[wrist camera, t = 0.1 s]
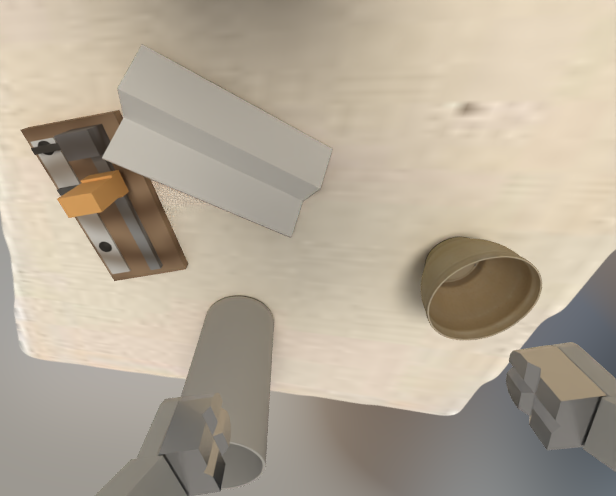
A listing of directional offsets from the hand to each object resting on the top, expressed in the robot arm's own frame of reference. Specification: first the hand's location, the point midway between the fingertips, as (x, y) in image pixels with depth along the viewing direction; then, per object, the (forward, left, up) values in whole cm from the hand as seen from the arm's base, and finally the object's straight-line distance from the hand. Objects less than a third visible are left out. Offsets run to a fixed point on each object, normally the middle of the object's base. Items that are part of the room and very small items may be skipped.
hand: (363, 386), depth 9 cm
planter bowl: (+27, +21, -39) cm, 52 cm away
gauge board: (+7, -29, -39) cm, 49 cm away
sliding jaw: (+3, -29, -37) cm, 47 cm away
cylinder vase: (+33, -18, -39) cm, 54 cm away
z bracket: (+2, -11, -38) cm, 40 cm away
